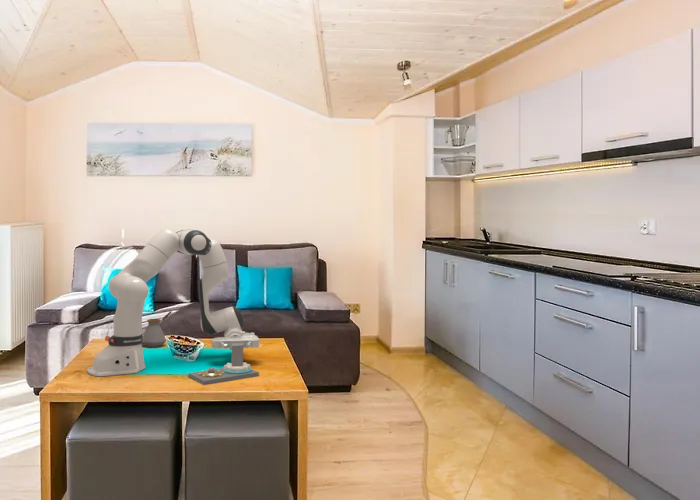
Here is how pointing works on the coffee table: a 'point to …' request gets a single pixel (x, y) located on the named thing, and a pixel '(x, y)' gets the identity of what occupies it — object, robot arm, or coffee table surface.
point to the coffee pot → (154, 333)
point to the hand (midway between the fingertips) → (236, 346)
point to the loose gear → (237, 359)
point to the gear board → (220, 375)
